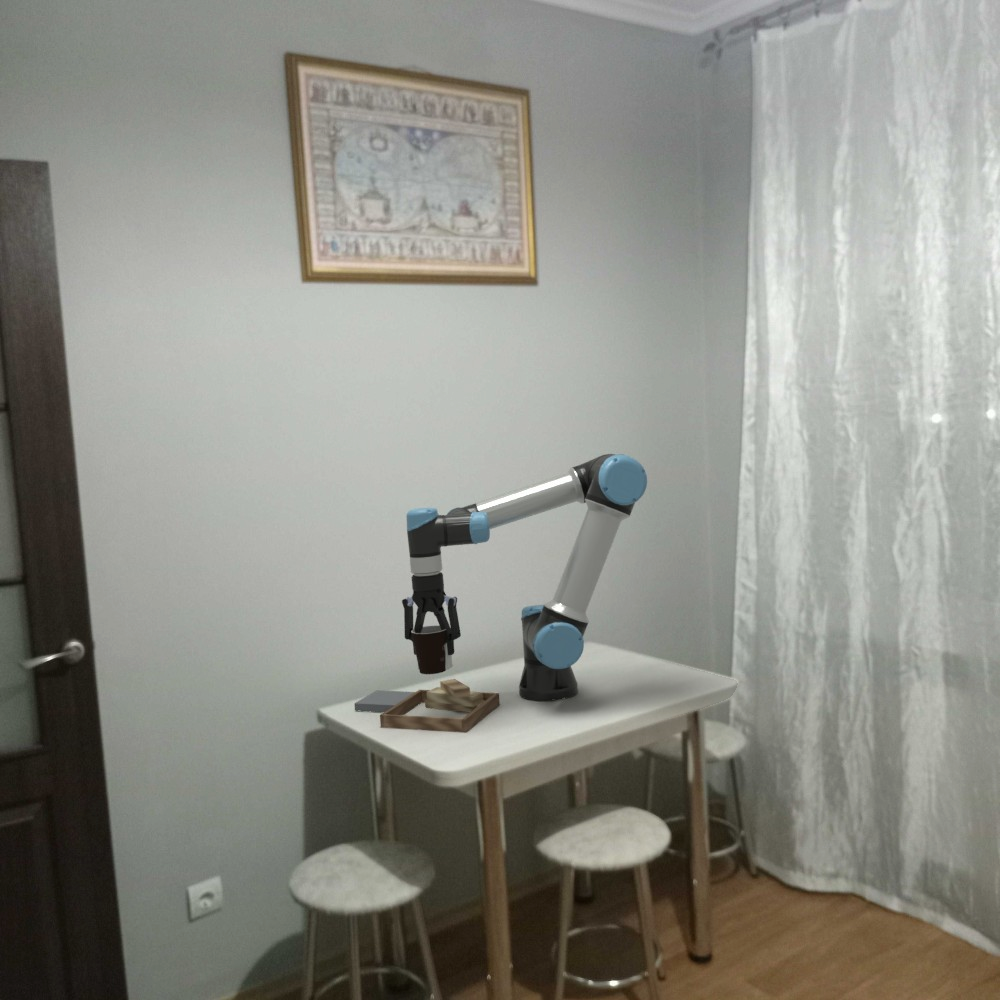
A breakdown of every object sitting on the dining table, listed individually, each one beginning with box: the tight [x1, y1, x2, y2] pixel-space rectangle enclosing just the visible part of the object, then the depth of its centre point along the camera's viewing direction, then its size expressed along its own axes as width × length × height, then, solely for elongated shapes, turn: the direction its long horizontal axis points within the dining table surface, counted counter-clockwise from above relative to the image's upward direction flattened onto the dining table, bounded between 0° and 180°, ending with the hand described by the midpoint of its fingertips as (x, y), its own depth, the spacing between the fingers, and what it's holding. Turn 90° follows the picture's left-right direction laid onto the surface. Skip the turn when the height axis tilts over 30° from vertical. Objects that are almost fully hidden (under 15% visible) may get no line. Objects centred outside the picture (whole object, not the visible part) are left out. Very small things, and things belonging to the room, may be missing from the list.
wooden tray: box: [379, 689, 501, 733], centre depth 240 cm, size 22×22×3 cm
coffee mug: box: [411, 625, 447, 675], centre depth 236 cm, size 12×9×10 cm
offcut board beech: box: [439, 678, 471, 698], centre depth 245 cm, size 10×4×2 cm, turn 24°
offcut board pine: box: [427, 686, 483, 707], centre depth 246 cm, size 14×5×2 cm, turn 57°
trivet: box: [353, 690, 416, 713], centre depth 252 cm, size 12×12×2 cm
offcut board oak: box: [424, 700, 484, 713], centre depth 246 cm, size 16×5×2 cm, turn 63°
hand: (435, 667), depth 236 cm, fingers closed on coffee mug, 6 cm apart
